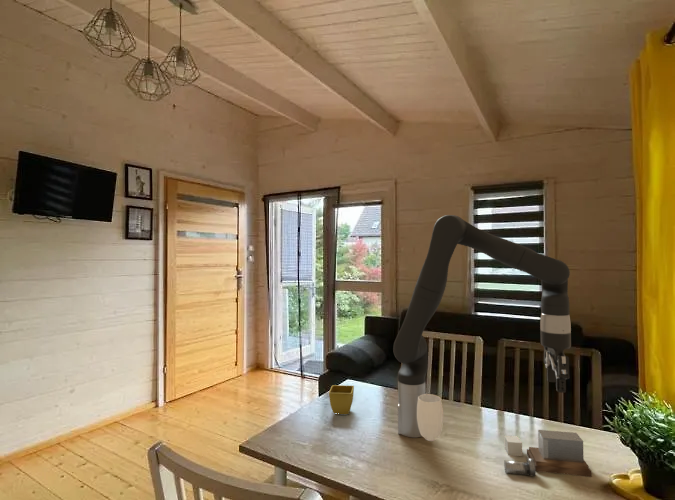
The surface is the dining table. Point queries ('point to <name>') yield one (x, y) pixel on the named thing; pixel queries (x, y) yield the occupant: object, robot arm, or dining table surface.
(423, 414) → the cup
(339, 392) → the flower pot
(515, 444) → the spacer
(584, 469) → the stand
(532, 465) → the bolt
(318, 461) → the dining table surface
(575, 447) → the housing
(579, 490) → the dining table surface
